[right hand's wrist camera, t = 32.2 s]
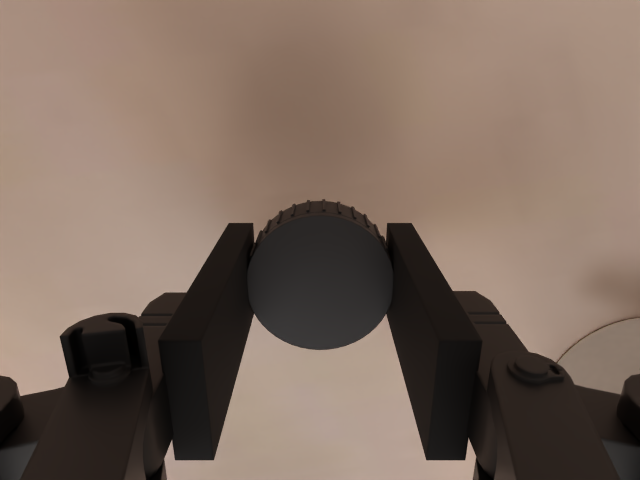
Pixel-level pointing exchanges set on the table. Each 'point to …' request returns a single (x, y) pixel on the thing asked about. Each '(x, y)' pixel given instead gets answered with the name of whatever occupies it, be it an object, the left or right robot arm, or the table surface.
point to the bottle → (605, 357)
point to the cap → (320, 275)
